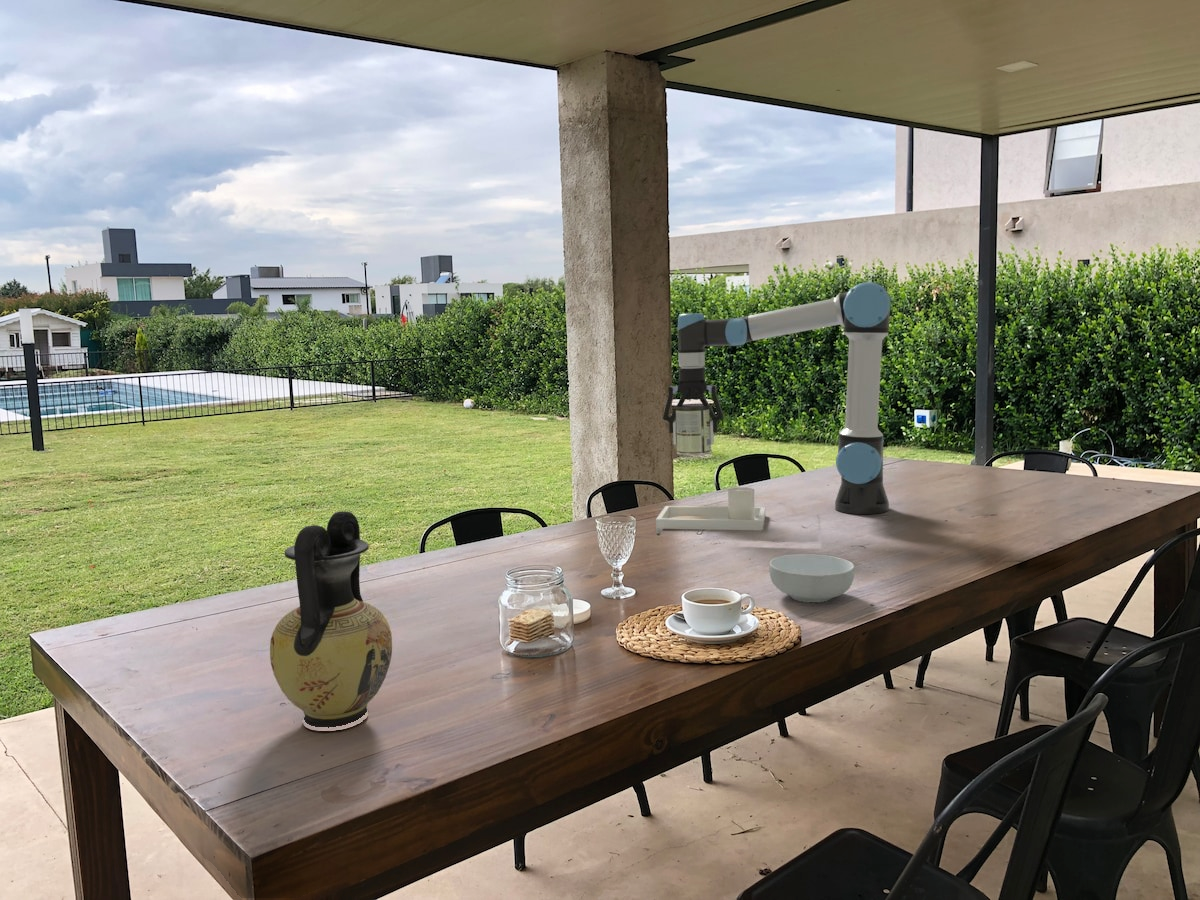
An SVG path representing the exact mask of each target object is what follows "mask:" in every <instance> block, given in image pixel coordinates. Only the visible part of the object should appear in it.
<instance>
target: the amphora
mask: <svg viewBox="0 0 1200 900" xmlns="http://www.w3.org/2000/svg"><path fill="white" fill-rule="evenodd" d="M359 524H360V523H359V521H358V519H357V517H356V515H354V513H352V512H351V511H345V510H344V511H343V510H342V511H336V512H334V513H333V514H332V516H331V517H330V519H329V520H328V522H327V527H326V528H325V527H324V526H322V525H321V526H320V525H313V524H312V525H307V526H305V527H303V528H302V529H300V531H299V533H297V536H296V539H295V542H294V545H291V546H289V547H288V548H286V549H285V551H284V555H285V557H286V558H287V559H289V560H293V561H294V563H295V564H294V565H295V571H296V572H295V575H296V583H297V584H296V585H297V592H298V593H297V594H298V600H299V602H298V603H299V606H298V607H296V608H294V609H293V610H291V611H289V612H287V613H286V614H285V615H284V616H283V617H281V619H280V620H279V621H278V622H277V624H276V625H275V627H274V630H273V631H272V634H271V637H270V644H269V658H270V665H271V670H272V672H273V676H274V678H275V680H276V682H277V684H278V686H279V688H280V690H281V692H282V693H283V694H284V696H285V697H286V698H287V700H288V701H290V703H291V704H292V705H293V706H294V707H296V708H298V709H300V710H302V712H303V714H304V716H305V717H304V716H303V718H304V720H305V722H306V723H307V724H309V725H311V726H315V727H328V728H329V727H336V726H342V725H346V724H348V723H351V722H354V721H356V720H358V719H359V718H361V717H362V716H363V715H365V713H366V712H367V710H368V708H367V706H368V704H369V702H371V701H372V700H373V699H374V697H375V696H376V695H377V694H378V692H379V690H380V689H381V687H382V685H383V683H384V681H385V680H386V677H387V674H388V670H389V668H390V664H391V660H392V655H393V637H392V630H391V627H390V624H389V622H388V620H387V618H386V617H385V615H384V614H383V612H382V611H380V609H378V608H377V607H376V606H373V605H372V604H370V603H367V602H365V601H363V597H362V595H361V586H360V572H361V571H360V570H361V569H360V567H361V565H360V563H361V554H364V553H366V552H367V551H368V549H369V548H370V547H369V544H368V542H367V541H365V540H362V539H361V534H360V533H361V531H360V530H361V529H360V525H359Z"/></svg>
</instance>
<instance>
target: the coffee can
mask: <svg viewBox="0 0 1200 900" xmlns="http://www.w3.org/2000/svg"><path fill="white" fill-rule="evenodd" d="M708 404H709V405H707V406H704V405H703V404H702V403H685V404H684V403H683V405H682V406H681V407H678V406H677V405H675V406H674V410H675V409H676V418H675V421H676V437H677V444H676V454H677V455H679V456H687V457H688V456H690V457H691V456H692V457H693V456H694V457H695V456H707V455H710V454H712V453H713V451H712V444H711V442H710V421H712V418H711V417H710V415H709V408H710V407H711V404H710V403H708ZM711 408H712V407H711Z"/></svg>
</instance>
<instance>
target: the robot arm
mask: <svg viewBox="0 0 1200 900" xmlns="http://www.w3.org/2000/svg"><path fill="white" fill-rule="evenodd" d="M891 307H892V301H891V296H890V294H889V292H888V291H887V290H886V288H885V287H884V286H882V285H881V284H879V283H877V282H873V281H871V282H870V281H866V282H860V283H858V284H855V285H854V286H853V287H851V288H850V289H849V291H846V292H841V293H837V295H836V296H835V297H834V298H829V299H825V300H820V301H814V302H810V303H805V304H804V303H803V304H800V305H795V306H790V307H785V308H780V309H775V310H770V311H766V312H761V313H755V314H751V315H750V314H749V315H745V316H740V317H734V318H720V319H705V316H704V314H703V313H702V312H698V313H697V312H696V313H680V314H679V315H678V318H677V329H676V331H677V340H678V341H677V343H678V344H677V345H678V354H677V355H678V366H679V367H680V368H679V369H678V380H679V381H678V385H677V386H676V385H675V386H669V387H668V388H667V389H668V397H667V401H666V405H665V408H664V412H663V415H662V419H663V420H664V421H666V422H668V423H669V427H668V428H669V433H670V434H673V445H676V446H677V437H676V409H675V408H674V409H673V411H672V413H671V415H670V412H671V408H672V404H673V401H674V397H675V394H676V393H677V391H679V393H680V394H681V396H680V399H679V401H678V403H677V404H676V406H678V407H681V406H682V405H683V404H684V403H685V402H686V401H688V400H689V401H691V400H697V401H698V400H699V401H700V403H701V404H703V405H704V406H707V405H709V404H710V403H709V401H708V400H707V398H706V396H705V395H704V394H705V393H706V391H707V390H708V392H709V394H711V398H712V401H713V404H714V407H715V410H716V414H717V415H716V414H715V412H714V410H713V409H712V407H710V408H709V415H710V417H711V421H710V442H711V445H714V444H715V433H717V431H718V421H720V420H723V418H724V413H723V409H722V407H721V404H720V400H719V396H718V395H717V385H715V384H714V385H707V383H706V369H705V365H706V361H705V360H706V359H705V358H706V357H705V355H706V354H705V349H706V348H705V347H721V346H722V347H726V346H731V347H735V346H737V347H738V346H743V345H745V343H749V342H754V341H758V340H763V339H769V338H774V337H779V336H785V335H790V334H796V333H801V332H807V331H812V330H817V329H822V328H828V327H833V326H839V325H840V326H841V327H843V334H844V335H845V336H846V337H847V339H848V355H847V356H848V359H847V375H846V376H847V380H846V381H847V382H846V400H845V401H846V403H845V420H844V427H842V429H841V430H840V431H839V432H838V448H837V454H836V457H835V465H836V469H837V472H838V473H839V475H840V476H841V480H840V481H841V482H840V486H839V488H838V492H837V495H836V497H835V502H834V509H835V510H836V511H838V512H840V513H846V514H854V515H877V514H884V513H887V512H888V511H889V510H890V503H889V498H888V496H887V495H888V494H887V493H886V492H887V491H886V490H885V485H884V444H885V440H884V434H883V432H881V430H880V429H879V427H878V424H879V423H878V422H879V403H880V386H881V372H882V371H881V367H882V366H881V365H882V350H883V346H882V345H883V340H884V339H885V338H886V336H888V335H889V329H890V328H889V327H890V315H891V314H890V311H891ZM669 415H670V416H669Z"/></svg>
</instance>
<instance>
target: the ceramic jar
mask: <svg viewBox="0 0 1200 900" xmlns="http://www.w3.org/2000/svg"><path fill="white" fill-rule="evenodd" d="M727 495H728V497H727V502H728V506H727V507H728V519H738V520H755V507H756V506H755V489H754V488H752V487H740V486H739V487H731V488H729V489H727Z"/></svg>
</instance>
